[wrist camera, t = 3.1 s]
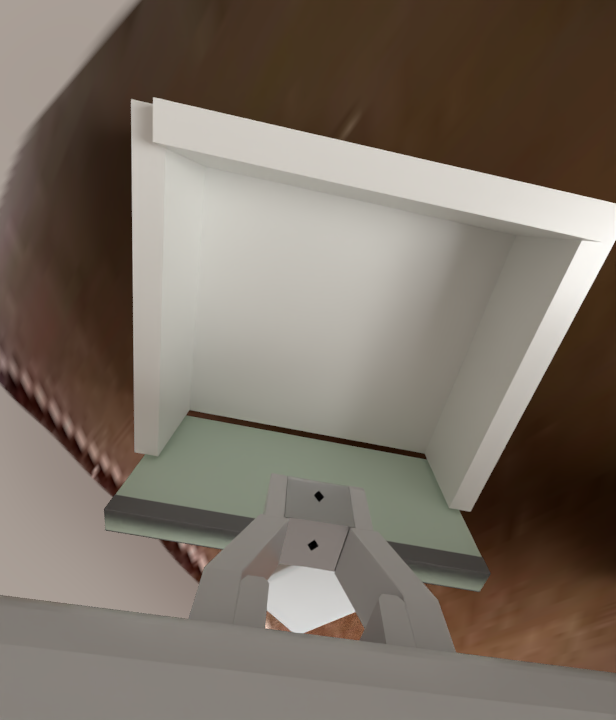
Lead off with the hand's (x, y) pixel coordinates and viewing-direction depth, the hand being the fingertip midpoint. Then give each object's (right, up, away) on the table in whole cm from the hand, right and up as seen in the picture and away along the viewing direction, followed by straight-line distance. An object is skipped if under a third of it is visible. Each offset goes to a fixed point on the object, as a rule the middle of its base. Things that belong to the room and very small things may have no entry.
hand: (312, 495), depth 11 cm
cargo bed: (+1, +7, +9) cm, 12 cm away
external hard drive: (+2, -15, +20) cm, 25 cm away
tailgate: (0, -1, +11) cm, 11 cm away
